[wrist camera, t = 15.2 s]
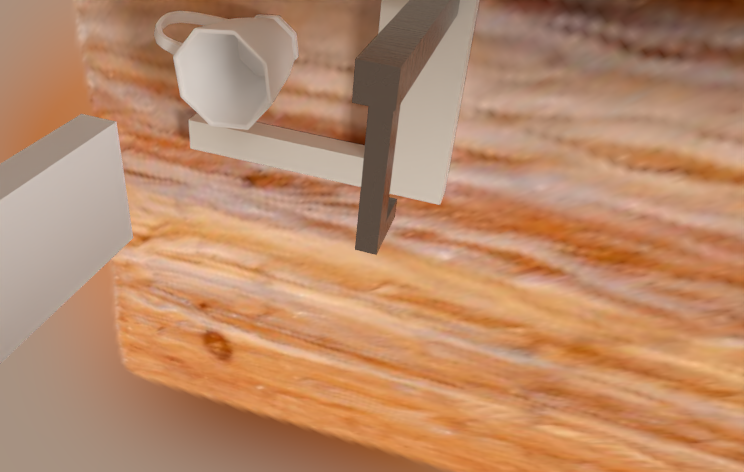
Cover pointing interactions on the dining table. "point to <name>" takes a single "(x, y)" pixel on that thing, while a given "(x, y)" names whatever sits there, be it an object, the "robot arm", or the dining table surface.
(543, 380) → the dining table surface
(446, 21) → the hook arm
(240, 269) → the dining table surface
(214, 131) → the flat u-shaped bracket
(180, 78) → the cup
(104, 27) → the dining table surface
